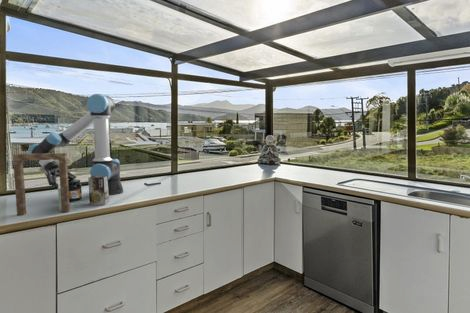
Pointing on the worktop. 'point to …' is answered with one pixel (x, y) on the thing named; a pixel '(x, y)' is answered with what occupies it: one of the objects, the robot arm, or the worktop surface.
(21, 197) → the door frame
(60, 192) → the door
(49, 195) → the worktop surface
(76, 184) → the supplement container
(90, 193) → the coffee box
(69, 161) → the flower in vase
